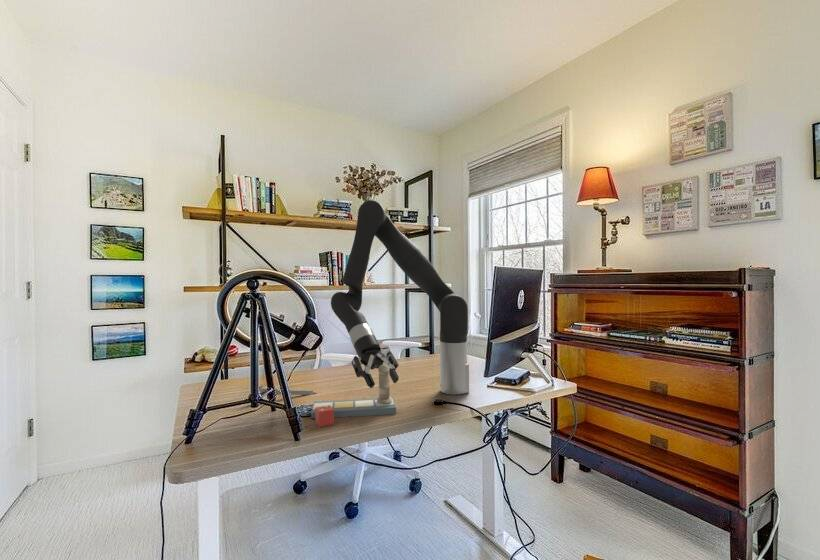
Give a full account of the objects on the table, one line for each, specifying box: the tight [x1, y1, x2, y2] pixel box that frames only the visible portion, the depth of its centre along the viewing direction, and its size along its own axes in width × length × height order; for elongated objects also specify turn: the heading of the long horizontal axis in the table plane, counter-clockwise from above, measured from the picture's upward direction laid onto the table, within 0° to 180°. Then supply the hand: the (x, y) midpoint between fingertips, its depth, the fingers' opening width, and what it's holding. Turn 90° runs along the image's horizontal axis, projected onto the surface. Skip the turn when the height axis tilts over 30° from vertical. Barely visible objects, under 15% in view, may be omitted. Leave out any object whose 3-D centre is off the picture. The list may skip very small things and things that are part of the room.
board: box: [310, 396, 397, 419], centre depth 119 cm, size 24×10×2 cm, turn 98°
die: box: [314, 405, 335, 428], centre depth 109 cm, size 4×4×4 cm
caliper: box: [259, 384, 317, 397], centre depth 132 cm, size 20×1×6 cm, turn 125°
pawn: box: [376, 363, 393, 404], centre depth 120 cm, size 4×4×11 cm
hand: (384, 384), depth 120 cm, fingers open, 8 cm apart
